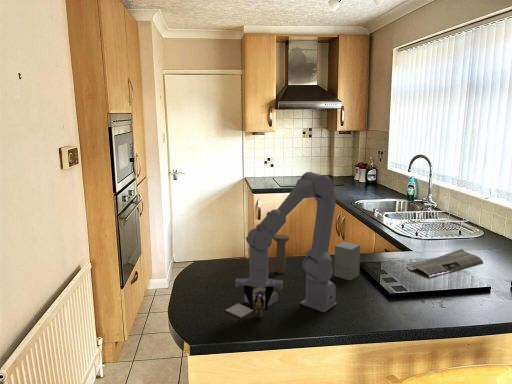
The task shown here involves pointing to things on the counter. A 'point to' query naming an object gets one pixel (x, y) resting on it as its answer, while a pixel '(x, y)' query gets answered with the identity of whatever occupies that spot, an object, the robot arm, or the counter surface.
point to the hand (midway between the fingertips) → (259, 308)
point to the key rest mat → (239, 310)
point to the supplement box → (347, 260)
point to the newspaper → (447, 262)
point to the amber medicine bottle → (259, 305)
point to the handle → (280, 252)
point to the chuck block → (262, 291)
